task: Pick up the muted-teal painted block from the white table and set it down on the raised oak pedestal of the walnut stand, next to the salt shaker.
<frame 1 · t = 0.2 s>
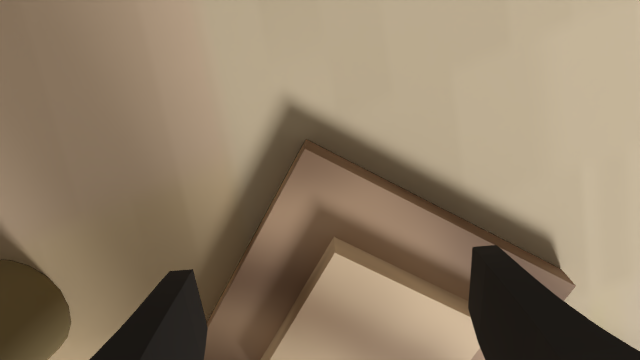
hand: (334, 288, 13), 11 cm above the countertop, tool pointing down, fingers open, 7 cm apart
salt shaker: (12, 310, 26), on the countertop
walnut stand: (365, 320, 26), on the countertop
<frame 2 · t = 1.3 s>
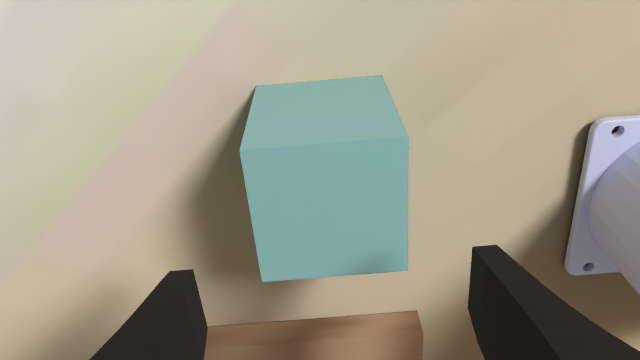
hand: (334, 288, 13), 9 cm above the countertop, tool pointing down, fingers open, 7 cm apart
teal block: (323, 137, 22), on the countertop
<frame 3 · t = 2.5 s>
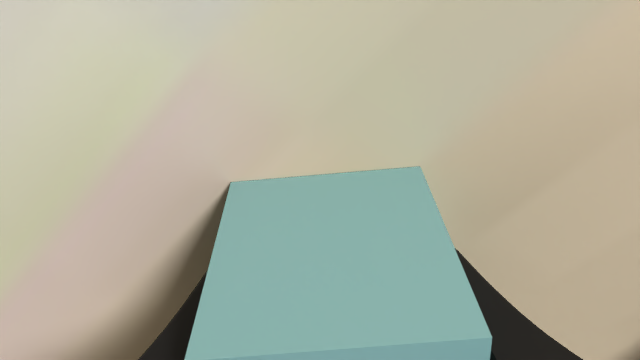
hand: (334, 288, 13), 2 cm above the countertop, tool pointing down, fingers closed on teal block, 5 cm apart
teal block: (331, 250, 15), on the countertop, touching gripper
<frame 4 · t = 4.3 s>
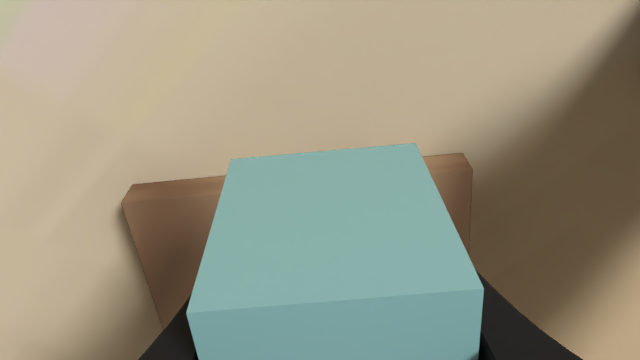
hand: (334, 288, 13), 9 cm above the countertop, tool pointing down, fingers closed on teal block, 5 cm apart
walnut stand: (313, 295, 25), on the countertop
teal block: (330, 228, 15), point 7 cm above the countertop, touching gripper
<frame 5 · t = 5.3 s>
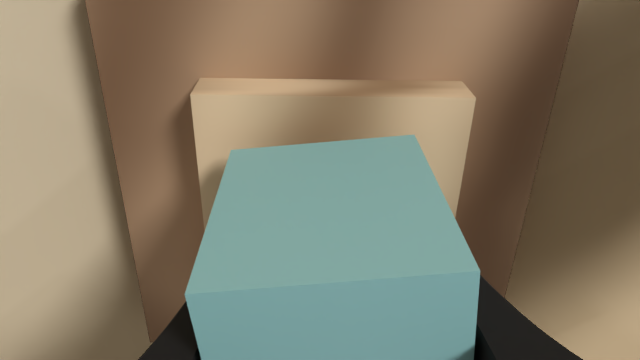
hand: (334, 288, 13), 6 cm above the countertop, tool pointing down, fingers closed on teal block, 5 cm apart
walnut stand: (326, 172, 19), on the countertop
teal block: (329, 220, 15), point 4 cm above the countertop, touching gripper
when the fingers open (6 cm above the countertop, at t = 5.9 s): teal block stays where it is, resting on walnut stand.
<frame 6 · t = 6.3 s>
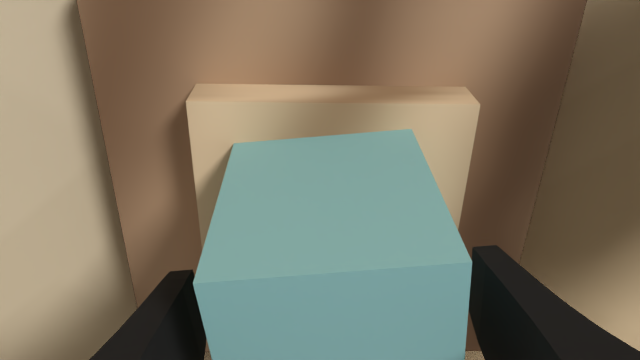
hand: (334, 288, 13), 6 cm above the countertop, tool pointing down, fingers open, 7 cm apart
walnut stand: (326, 179, 19), on the countertop
teal block: (328, 211, 16), point 3 cm above the countertop, touching walnut stand
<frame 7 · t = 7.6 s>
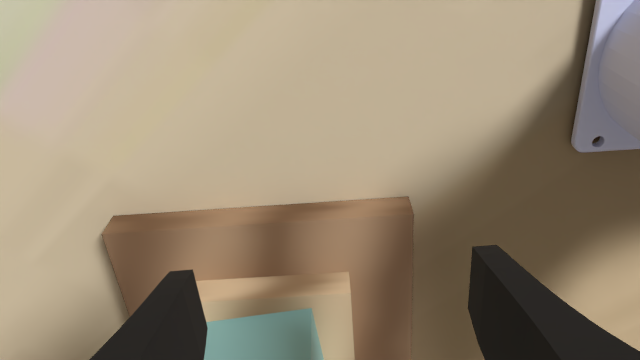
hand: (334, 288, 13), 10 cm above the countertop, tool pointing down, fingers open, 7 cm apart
walnut stand: (276, 316, 28), on the countertop
teal block: (269, 353, 25), point 3 cm above the countertop, touching walnut stand
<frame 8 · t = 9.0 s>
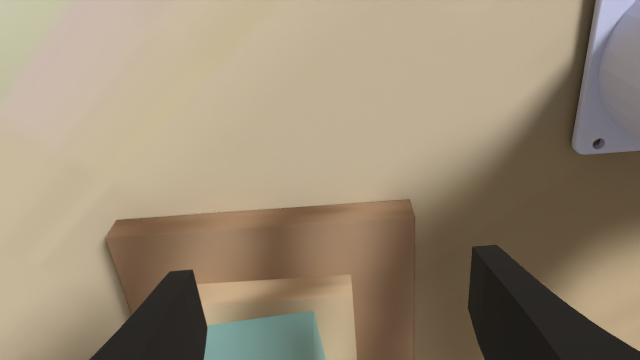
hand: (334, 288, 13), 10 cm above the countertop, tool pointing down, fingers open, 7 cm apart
walnut stand: (279, 319, 28), on the countertop
teal block: (272, 355, 25), point 3 cm above the countertop, touching walnut stand
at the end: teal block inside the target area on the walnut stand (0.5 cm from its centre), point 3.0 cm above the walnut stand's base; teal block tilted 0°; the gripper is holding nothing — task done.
